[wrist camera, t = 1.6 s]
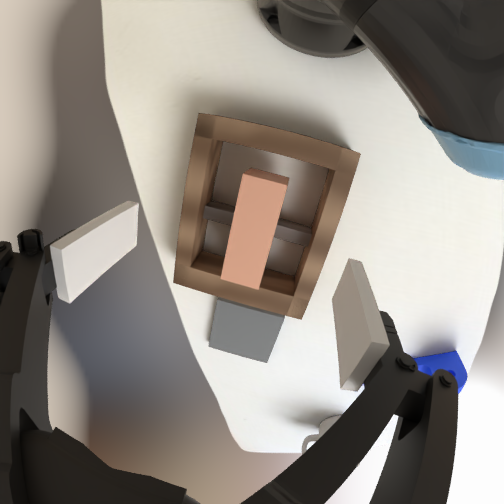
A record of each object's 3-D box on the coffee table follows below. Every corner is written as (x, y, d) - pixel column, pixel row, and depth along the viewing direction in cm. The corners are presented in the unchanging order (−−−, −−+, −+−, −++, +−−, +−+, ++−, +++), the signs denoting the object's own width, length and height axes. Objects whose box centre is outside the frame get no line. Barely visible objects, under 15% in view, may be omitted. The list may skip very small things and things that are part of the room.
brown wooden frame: (212, 114, 31) (198, 113, 27) (351, 150, 30) (360, 153, 26) (186, 265, 40) (173, 282, 36) (302, 298, 40) (301, 319, 35)
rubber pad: (219, 295, 42) (217, 299, 41) (284, 314, 41) (284, 318, 40) (210, 342, 46) (208, 346, 45) (267, 358, 46) (266, 362, 45)
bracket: (456, 350, 40) (472, 384, 32) (443, 379, 43) (455, 412, 35) (367, 363, 43) (375, 403, 35) (361, 391, 47) (366, 429, 38)
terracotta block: (250, 167, 31) (242, 173, 27) (289, 177, 31) (287, 185, 27) (229, 261, 36) (220, 279, 32) (263, 270, 36) (258, 289, 32)
